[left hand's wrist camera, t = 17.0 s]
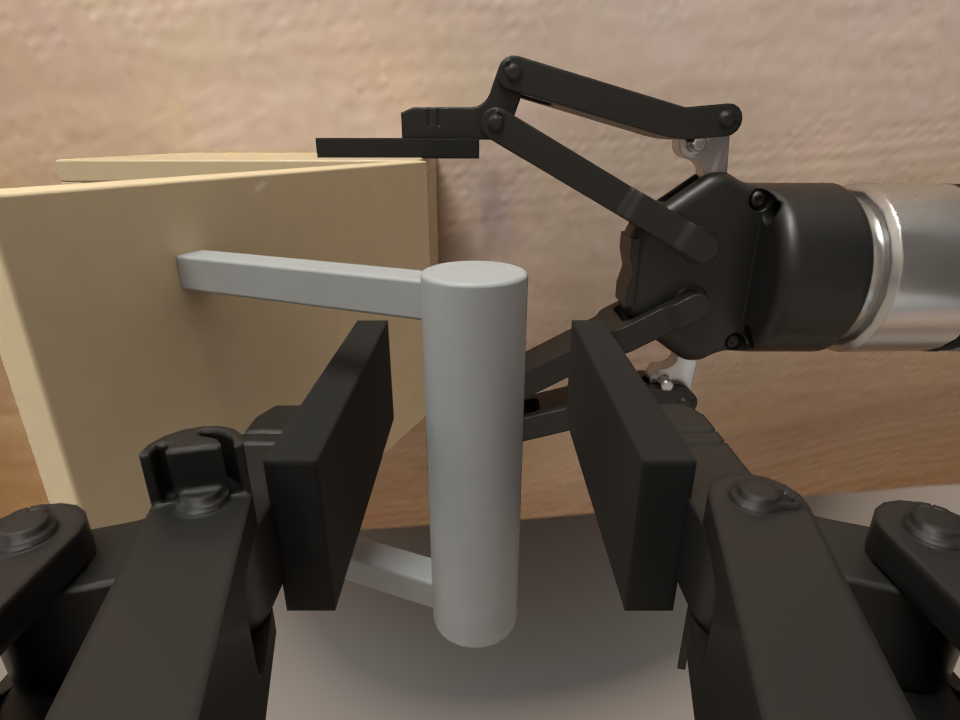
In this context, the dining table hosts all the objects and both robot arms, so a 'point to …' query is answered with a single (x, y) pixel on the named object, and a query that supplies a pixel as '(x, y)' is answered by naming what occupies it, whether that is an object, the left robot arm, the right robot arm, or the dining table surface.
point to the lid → (270, 348)
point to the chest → (226, 171)
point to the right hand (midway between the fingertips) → (336, 268)
